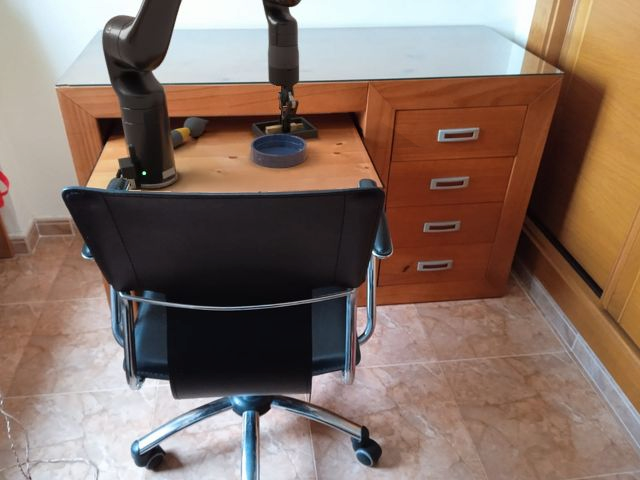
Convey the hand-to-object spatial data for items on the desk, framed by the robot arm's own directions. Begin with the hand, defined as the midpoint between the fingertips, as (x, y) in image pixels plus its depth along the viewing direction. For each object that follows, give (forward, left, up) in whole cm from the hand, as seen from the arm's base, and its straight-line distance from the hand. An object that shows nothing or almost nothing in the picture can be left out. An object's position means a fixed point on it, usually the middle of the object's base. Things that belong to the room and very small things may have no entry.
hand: (284, 130), depth 139 cm
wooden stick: (0, 0, 0) cm, 0 cm away
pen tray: (0, 0, -1) cm, 1 cm away
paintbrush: (-26, +5, -2) cm, 26 cm away
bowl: (-7, -13, -1) cm, 14 cm away
